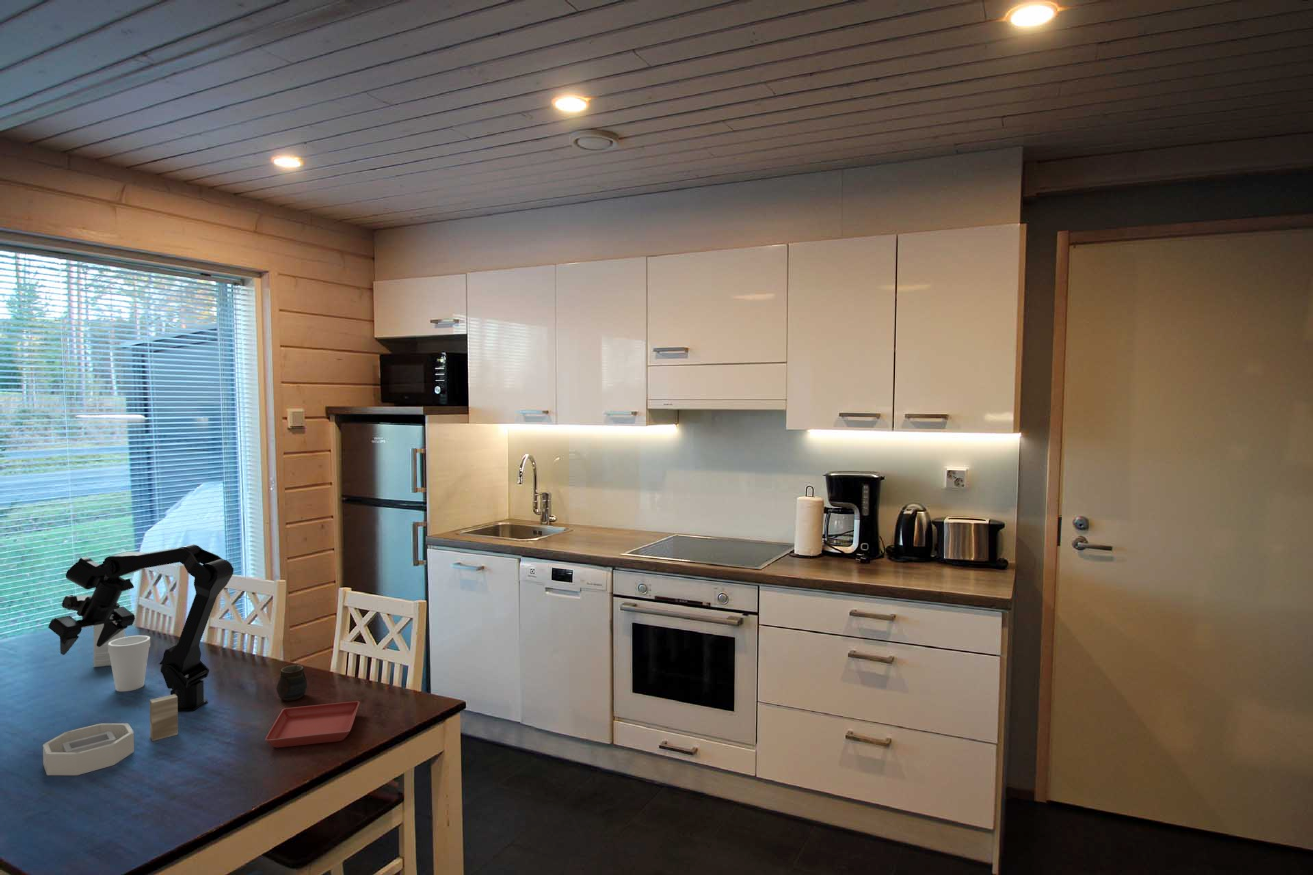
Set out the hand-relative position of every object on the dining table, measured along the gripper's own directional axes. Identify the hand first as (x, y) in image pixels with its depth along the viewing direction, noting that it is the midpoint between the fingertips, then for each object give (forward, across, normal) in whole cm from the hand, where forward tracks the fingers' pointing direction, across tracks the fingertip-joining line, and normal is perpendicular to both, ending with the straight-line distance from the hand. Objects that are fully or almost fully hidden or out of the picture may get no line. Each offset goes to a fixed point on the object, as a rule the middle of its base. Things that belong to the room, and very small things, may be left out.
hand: (80, 649), depth 188 cm
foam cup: (+11, -13, +7) cm, 19 cm away
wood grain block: (-3, +8, +40) cm, 41 cm away
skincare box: (+20, -27, -15) cm, 37 cm away
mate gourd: (-11, -19, +50) cm, 55 cm away
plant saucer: (-18, -3, +69) cm, 71 cm away
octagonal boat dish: (0, +21, +36) cm, 41 cm away
